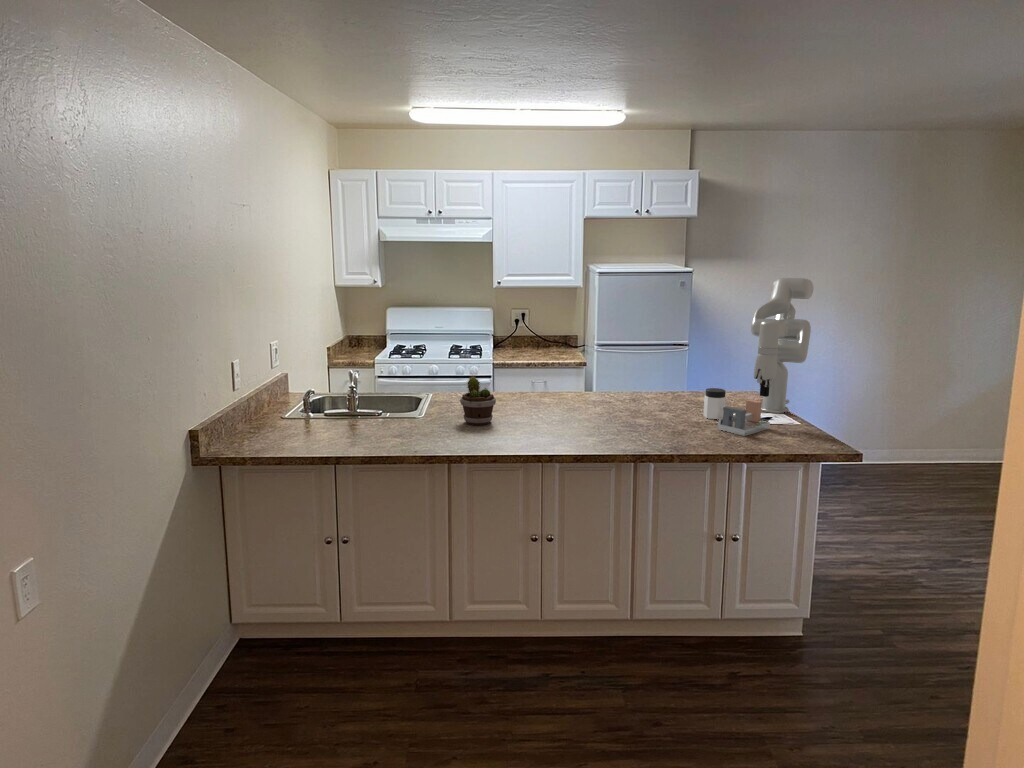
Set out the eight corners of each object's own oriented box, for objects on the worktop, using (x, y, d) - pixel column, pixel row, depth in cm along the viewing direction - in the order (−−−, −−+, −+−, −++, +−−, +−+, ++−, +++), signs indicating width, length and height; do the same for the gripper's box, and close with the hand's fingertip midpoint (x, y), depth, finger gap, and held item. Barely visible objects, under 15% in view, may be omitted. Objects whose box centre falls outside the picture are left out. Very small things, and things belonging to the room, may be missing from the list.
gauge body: (743, 422, 300) (744, 400, 298) (769, 428, 291) (771, 405, 289) (717, 429, 289) (719, 406, 287) (744, 436, 280) (746, 412, 278)
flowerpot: (503, 424, 296) (503, 376, 292) (469, 429, 288) (469, 380, 284) (485, 416, 308) (485, 370, 304) (453, 421, 300) (453, 373, 296)
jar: (714, 420, 303) (716, 392, 301) (699, 416, 310) (701, 389, 307) (728, 418, 308) (730, 390, 305) (713, 414, 314) (715, 387, 312)
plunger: (750, 418, 297) (752, 399, 295) (768, 422, 291) (770, 402, 289) (729, 423, 287) (730, 404, 286) (747, 428, 281) (749, 408, 280)
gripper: (769, 349, 300) (765, 392, 303) (749, 351, 290) (745, 396, 294) (786, 351, 294) (782, 395, 297) (766, 354, 285) (762, 399, 288)
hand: (764, 395), depth 295 cm, fingers closed
